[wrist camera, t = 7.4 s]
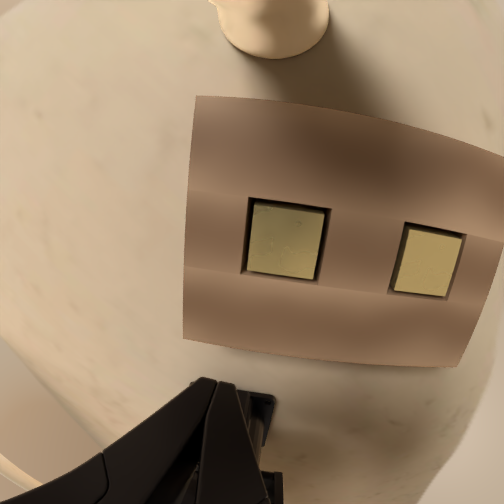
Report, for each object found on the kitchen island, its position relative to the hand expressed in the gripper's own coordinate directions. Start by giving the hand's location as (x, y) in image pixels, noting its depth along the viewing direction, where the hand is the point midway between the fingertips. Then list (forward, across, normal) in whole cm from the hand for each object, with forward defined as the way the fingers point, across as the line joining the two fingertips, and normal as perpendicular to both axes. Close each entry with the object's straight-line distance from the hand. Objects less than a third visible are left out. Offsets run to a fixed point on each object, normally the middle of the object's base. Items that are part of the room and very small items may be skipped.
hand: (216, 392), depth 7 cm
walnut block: (+12, -5, -2) cm, 13 cm away
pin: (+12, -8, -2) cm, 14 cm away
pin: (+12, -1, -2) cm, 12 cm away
